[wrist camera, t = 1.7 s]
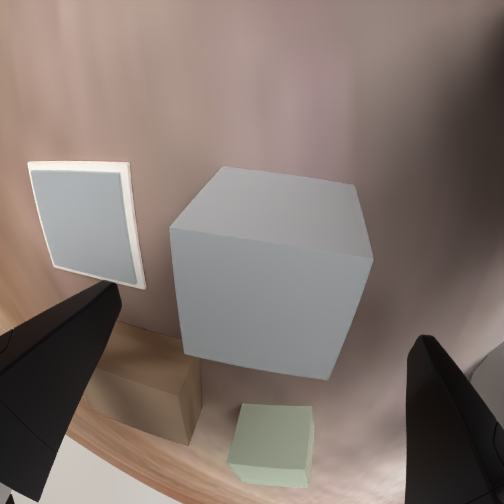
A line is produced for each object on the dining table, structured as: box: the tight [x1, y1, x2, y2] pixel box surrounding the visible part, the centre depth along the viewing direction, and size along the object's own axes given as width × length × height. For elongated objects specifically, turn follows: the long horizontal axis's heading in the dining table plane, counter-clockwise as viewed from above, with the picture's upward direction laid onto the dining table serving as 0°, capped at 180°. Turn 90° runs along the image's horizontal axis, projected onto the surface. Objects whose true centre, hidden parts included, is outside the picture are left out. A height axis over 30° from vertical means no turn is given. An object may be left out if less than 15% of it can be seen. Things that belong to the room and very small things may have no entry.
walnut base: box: [83, 321, 202, 446], centre depth 19 cm, size 8×8×4 cm
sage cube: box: [227, 403, 315, 488], centre depth 19 cm, size 5×5×5 cm
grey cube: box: [169, 166, 374, 380], centre depth 11 cm, size 5×5×5 cm
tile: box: [28, 161, 147, 290], centre depth 14 cm, size 7×7×1 cm
